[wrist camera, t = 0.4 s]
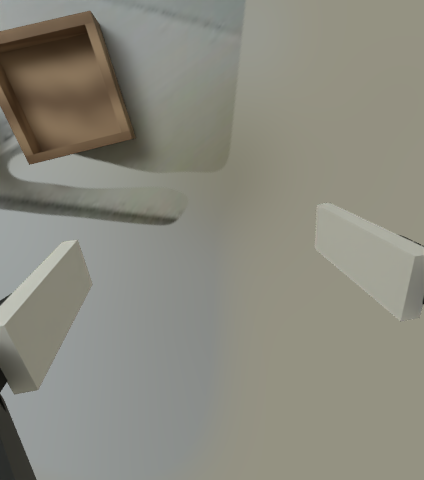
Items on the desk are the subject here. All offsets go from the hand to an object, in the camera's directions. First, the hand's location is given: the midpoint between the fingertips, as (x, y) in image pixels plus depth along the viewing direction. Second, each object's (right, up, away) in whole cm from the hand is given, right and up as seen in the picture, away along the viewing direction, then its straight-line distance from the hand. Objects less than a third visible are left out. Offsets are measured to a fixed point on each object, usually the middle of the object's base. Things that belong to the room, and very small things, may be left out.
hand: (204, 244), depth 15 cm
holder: (-18, +18, +19) cm, 32 cm away
